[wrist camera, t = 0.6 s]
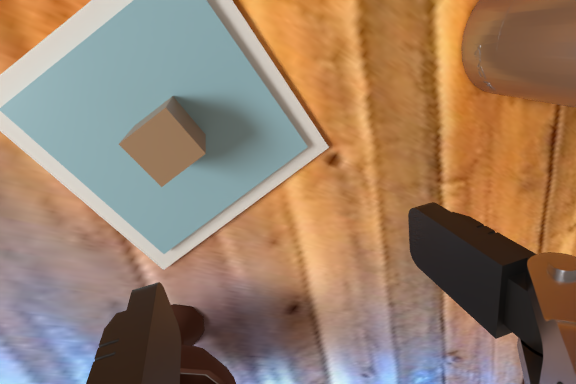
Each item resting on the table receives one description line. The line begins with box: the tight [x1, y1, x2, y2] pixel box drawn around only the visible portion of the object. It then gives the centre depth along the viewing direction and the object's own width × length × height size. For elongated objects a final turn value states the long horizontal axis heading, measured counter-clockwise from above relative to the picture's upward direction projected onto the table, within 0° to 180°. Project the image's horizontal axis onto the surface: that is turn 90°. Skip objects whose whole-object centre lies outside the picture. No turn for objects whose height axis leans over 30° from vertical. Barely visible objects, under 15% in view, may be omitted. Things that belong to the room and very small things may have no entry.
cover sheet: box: [0, 0, 308, 254], centre depth 23 cm, size 15×15×6 cm
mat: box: [0, 0, 329, 270], centre depth 26 cm, size 18×18×1 cm
